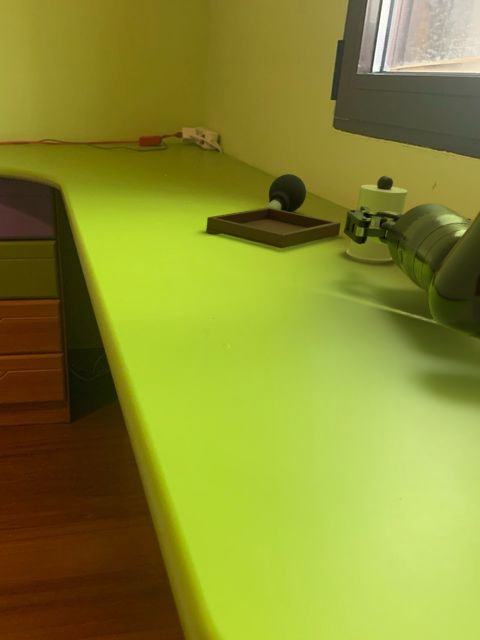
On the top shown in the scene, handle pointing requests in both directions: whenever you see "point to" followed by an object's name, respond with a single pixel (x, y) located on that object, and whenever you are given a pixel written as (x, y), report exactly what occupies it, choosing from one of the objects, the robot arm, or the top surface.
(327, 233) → the tray
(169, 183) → the top surface
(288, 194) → the light bulb
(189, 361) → the top surface
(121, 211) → the top surface
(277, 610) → the top surface
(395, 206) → the white cylinder with knob
